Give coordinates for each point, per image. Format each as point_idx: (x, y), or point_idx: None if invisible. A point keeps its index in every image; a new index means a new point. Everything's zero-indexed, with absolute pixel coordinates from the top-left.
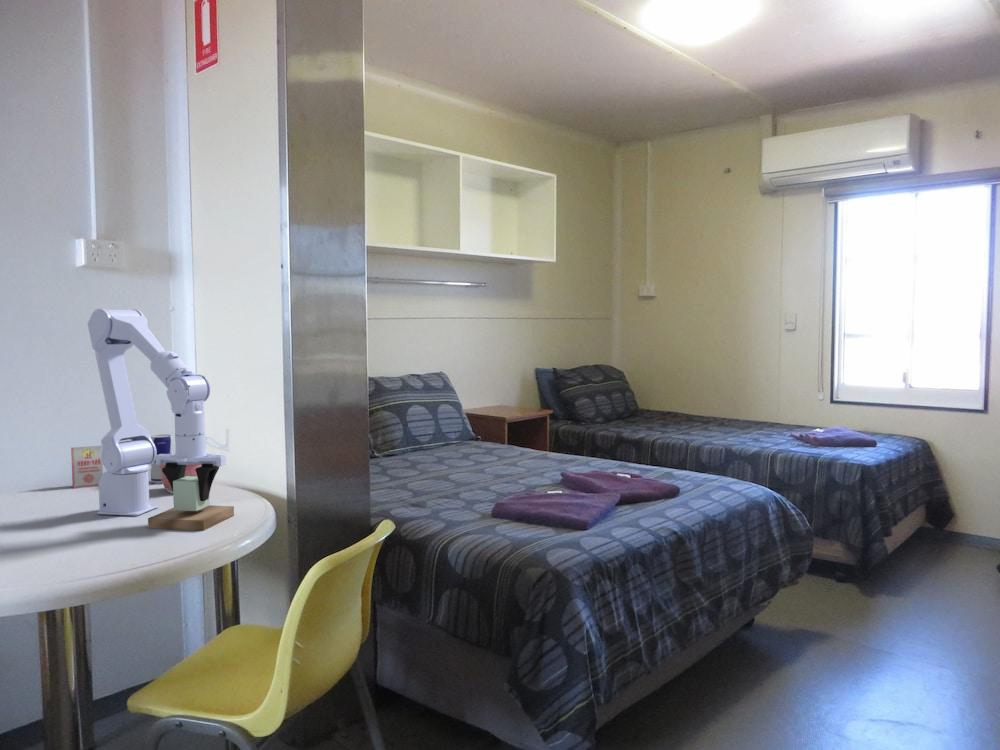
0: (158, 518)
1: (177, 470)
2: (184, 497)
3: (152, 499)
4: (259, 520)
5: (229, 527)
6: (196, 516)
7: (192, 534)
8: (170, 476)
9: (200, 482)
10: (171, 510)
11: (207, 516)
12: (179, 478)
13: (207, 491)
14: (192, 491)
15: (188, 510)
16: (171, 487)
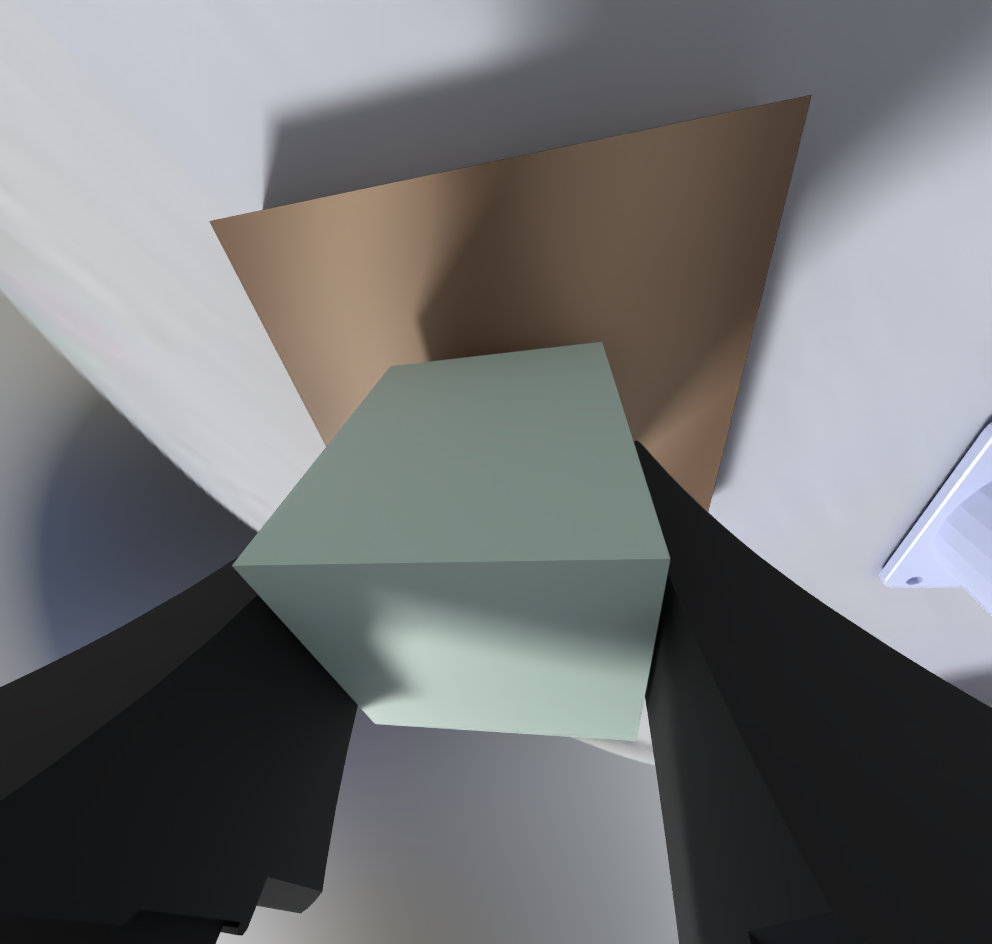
0: (670, 132)
1: (713, 850)
2: (474, 410)
3: (953, 662)
4: (228, 485)
5: (210, 342)
6: (381, 328)
7: (223, 53)
8: (787, 667)
9: (239, 583)
10: (691, 431)
11: (310, 351)
12: (659, 678)
13: None
14: (355, 462)
15: (459, 358)
16: (710, 515)
